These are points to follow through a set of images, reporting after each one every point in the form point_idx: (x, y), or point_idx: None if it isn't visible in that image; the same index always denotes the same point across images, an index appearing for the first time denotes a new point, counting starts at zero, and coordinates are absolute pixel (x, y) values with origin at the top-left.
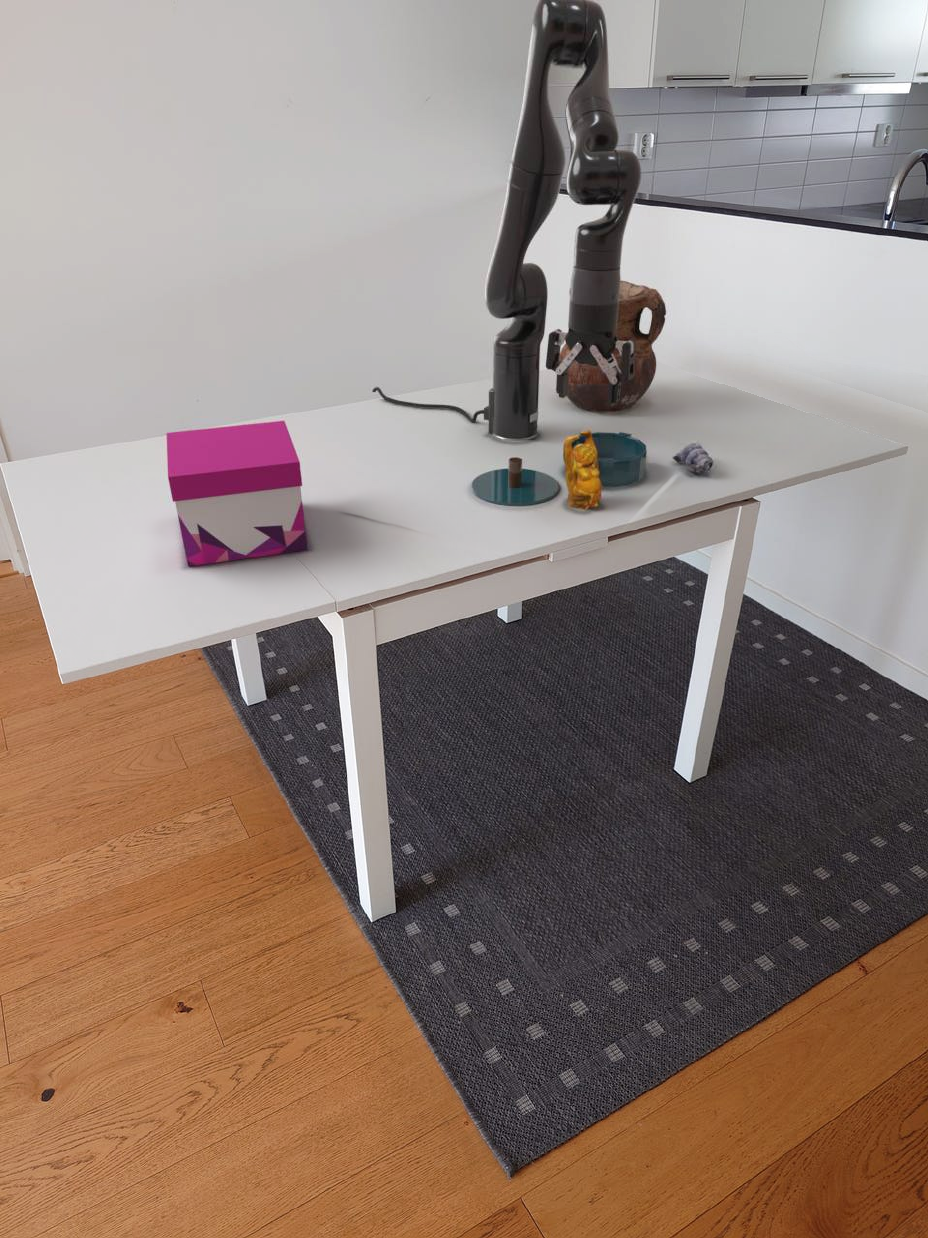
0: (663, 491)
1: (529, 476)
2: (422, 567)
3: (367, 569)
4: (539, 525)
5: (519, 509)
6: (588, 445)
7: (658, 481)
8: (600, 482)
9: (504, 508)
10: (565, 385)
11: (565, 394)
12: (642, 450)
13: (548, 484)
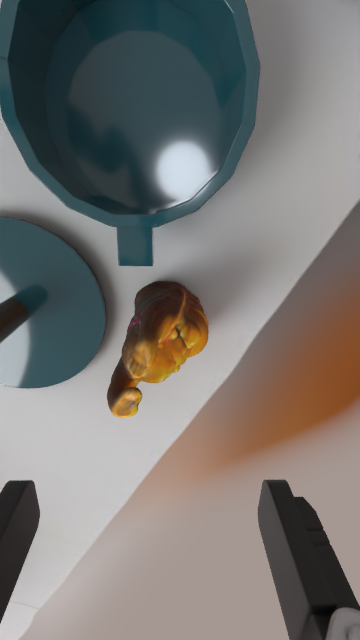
0: (302, 156)
1: (10, 257)
2: (69, 544)
3: None
4: None
5: None
6: (158, 340)
7: (279, 94)
8: (205, 331)
9: None
10: (11, 560)
11: (32, 505)
12: (247, 69)
13: (70, 278)
